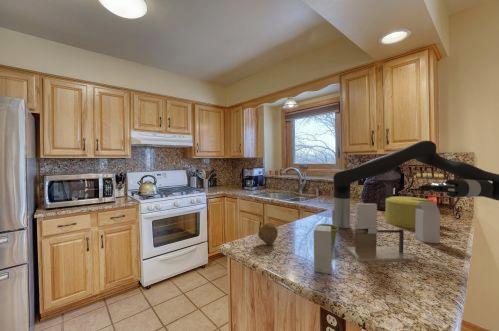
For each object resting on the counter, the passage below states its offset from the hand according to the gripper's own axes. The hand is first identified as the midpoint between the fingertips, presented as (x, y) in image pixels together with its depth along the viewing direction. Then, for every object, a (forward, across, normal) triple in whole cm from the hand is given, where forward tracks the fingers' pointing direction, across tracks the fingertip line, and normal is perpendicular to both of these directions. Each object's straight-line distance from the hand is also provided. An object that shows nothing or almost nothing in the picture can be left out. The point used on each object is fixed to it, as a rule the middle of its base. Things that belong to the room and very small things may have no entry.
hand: (419, 187), depth 95 cm
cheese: (-28, +47, -28) cm, 61 cm away
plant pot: (+36, +8, -28) cm, 46 cm away
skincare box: (+45, -14, -28) cm, 55 cm away
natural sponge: (+63, +8, -28) cm, 70 cm away
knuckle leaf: (+23, -2, -18) cm, 30 cm away
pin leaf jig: (+18, -2, -28) cm, 33 cm away
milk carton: (-15, +16, -28) cm, 35 cm away
